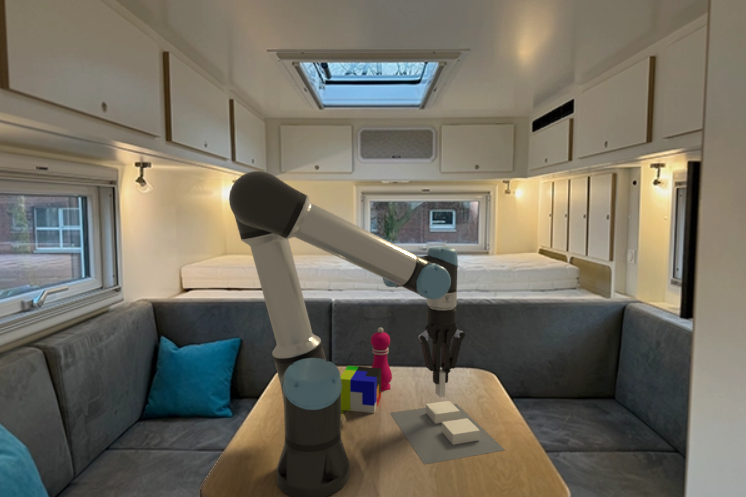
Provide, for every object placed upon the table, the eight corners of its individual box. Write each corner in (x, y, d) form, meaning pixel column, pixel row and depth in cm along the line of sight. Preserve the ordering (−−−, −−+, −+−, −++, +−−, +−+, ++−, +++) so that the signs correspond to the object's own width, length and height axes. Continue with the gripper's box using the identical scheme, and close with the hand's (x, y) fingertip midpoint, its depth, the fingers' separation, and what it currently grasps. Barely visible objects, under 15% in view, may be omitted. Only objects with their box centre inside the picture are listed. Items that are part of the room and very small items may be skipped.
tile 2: (452, 445, 97) (479, 440, 99) (453, 434, 97) (479, 430, 99) (441, 432, 103) (467, 428, 105) (441, 422, 103) (467, 418, 105)
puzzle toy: (374, 417, 113) (374, 381, 112) (338, 413, 115) (338, 378, 114) (380, 401, 123) (381, 368, 122) (348, 398, 125) (348, 365, 124)
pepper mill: (378, 383, 135) (378, 323, 133) (396, 389, 131) (397, 327, 129) (363, 390, 130) (364, 327, 128) (382, 397, 125) (382, 332, 123)
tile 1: (434, 424, 107) (459, 420, 109) (435, 414, 107) (459, 410, 109) (425, 413, 113) (449, 410, 115) (425, 403, 112) (449, 400, 114)
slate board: (505, 454, 96) (505, 450, 96) (424, 469, 90) (424, 464, 90) (456, 407, 119) (456, 403, 119) (389, 416, 113) (389, 412, 113)
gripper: (424, 311, 103) (422, 404, 105) (471, 308, 106) (469, 398, 108) (412, 305, 110) (411, 391, 112) (457, 302, 113) (455, 386, 115)
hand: (440, 394), depth 110 cm, fingers closed
